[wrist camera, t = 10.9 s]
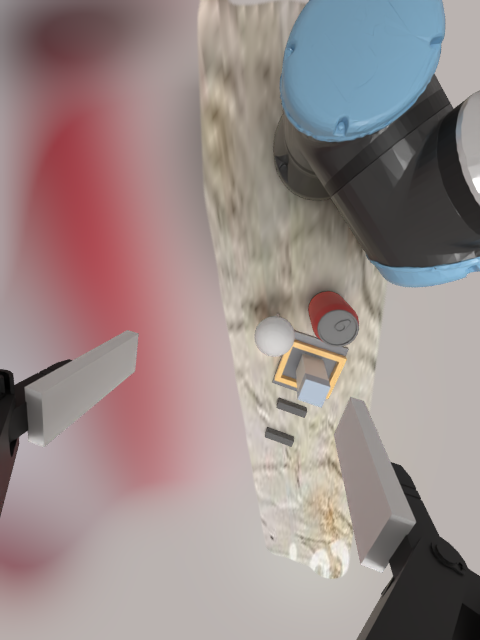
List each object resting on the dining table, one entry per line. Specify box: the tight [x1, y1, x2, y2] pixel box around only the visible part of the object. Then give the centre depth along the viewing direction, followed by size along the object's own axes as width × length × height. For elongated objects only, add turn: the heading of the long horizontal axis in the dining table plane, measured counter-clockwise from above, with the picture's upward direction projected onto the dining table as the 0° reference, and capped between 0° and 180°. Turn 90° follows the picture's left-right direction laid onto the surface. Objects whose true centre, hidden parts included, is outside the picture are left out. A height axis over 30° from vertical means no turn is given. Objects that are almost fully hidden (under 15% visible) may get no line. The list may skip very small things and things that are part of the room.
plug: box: [296, 354, 331, 408], centre depth 46 cm, size 4×4×10 cm
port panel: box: [272, 331, 349, 399], centre depth 51 cm, size 12×11×2 cm
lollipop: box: [255, 314, 295, 357], centre depth 43 cm, size 6×6×15 cm
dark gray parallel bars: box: [265, 398, 307, 447], centre depth 55 cm, size 10×6×2 cm, turn 164°
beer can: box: [308, 291, 359, 347], centre depth 42 cm, size 7×7×12 cm
